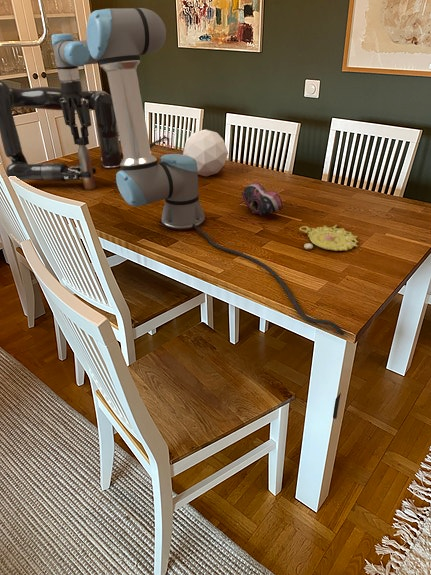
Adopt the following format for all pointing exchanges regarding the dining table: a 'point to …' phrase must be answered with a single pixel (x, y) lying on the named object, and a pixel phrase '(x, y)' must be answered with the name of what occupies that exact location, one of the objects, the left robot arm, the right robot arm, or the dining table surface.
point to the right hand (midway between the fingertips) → (81, 143)
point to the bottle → (86, 166)
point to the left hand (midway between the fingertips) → (93, 172)
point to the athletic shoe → (261, 200)
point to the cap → (79, 141)
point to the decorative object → (330, 238)
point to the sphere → (206, 151)
